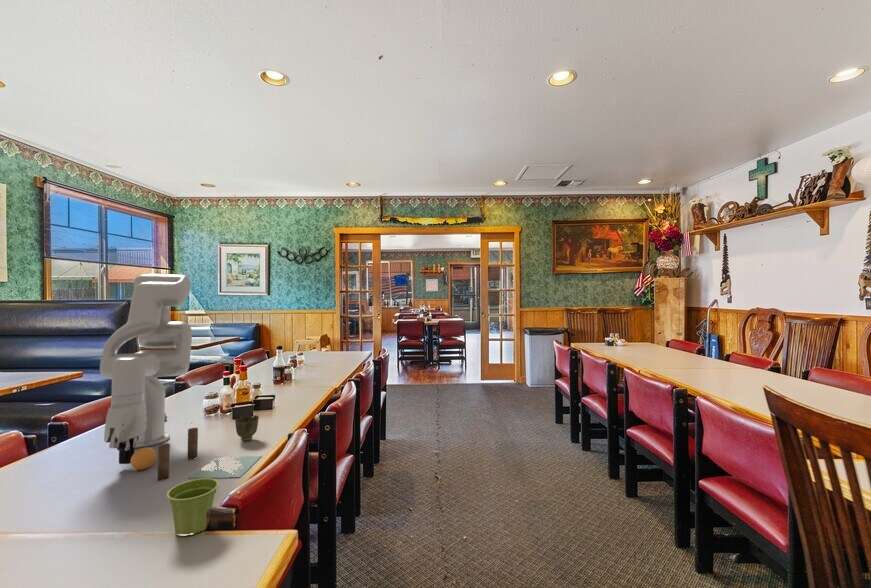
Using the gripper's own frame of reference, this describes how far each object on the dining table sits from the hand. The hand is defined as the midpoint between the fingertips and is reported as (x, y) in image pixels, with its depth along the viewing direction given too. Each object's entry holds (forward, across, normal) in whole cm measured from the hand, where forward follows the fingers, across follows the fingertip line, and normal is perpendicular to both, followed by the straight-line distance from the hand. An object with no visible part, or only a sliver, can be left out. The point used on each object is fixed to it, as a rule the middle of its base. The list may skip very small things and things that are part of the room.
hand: (126, 462), depth 108 cm
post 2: (+2, -8, +14) cm, 16 cm away
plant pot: (+3, +28, +38) cm, 47 cm away
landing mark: (+2, -2, +29) cm, 29 cm away
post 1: (+2, +6, +15) cm, 16 cm away
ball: (-1, 0, +5) cm, 5 cm away
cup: (+2, -22, +24) cm, 33 cm away
